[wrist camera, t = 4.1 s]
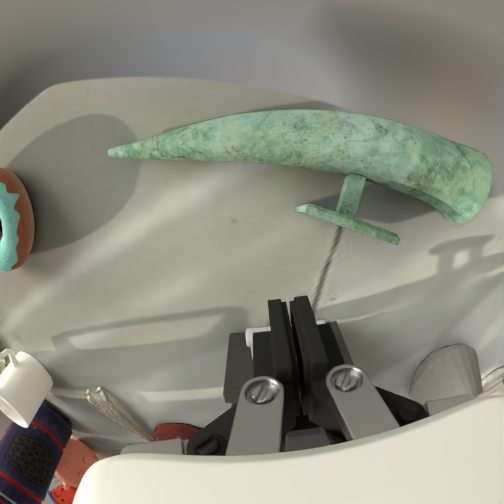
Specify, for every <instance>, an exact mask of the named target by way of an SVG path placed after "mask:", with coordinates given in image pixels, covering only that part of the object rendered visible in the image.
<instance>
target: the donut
mask: <svg viewBox="0 0 504 504" xmlns="http://www.w3.org/2000/svg"><path fill="white" fill-rule="evenodd" d="M0 218H1V222H2V228H3V233H2V232H1V231H0V270H2V271H8V272H9V271H12V270H14V269H16V268H18V267H20V266H21V265H22V264H23V263H24V262H25V260H26V259H27V257H28V255H29V253H30V251H31V249H32V246H33V241H34V215H33V210H32V205H31V202H30V199H29V196H28V193H27V191H26V189H25V187H24V185H23V184H22V182H21V181H20V179H19V178H18V177H17V176H16V175H15V174H14V173H13V172H11V171H10V170H8V169H4V168H0Z"/></svg>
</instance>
